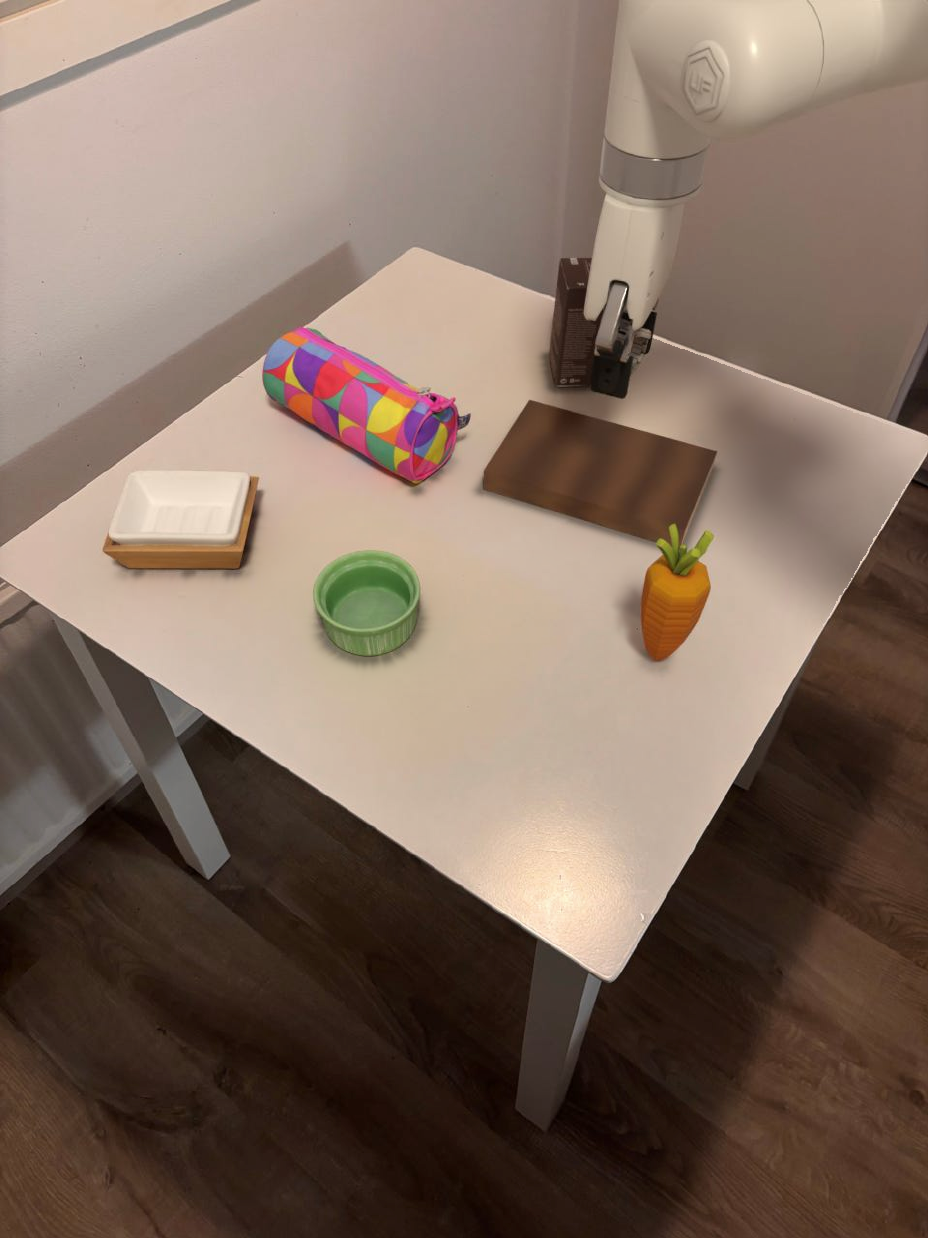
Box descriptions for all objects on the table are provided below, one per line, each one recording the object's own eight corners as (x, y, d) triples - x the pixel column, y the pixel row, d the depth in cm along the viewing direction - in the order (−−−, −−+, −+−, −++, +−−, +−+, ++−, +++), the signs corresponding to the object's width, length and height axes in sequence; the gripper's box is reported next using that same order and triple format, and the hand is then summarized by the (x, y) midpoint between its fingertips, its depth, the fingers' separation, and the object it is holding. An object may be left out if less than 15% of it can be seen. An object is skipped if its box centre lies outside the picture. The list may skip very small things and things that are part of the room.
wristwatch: (653, 364, 80) (662, 314, 76) (619, 399, 77) (627, 349, 73) (618, 350, 82) (626, 301, 78) (584, 385, 78) (590, 335, 75)
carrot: (620, 671, 75) (648, 548, 63) (635, 628, 78) (665, 503, 66) (678, 690, 74) (717, 568, 62) (692, 645, 77) (732, 521, 65)
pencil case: (476, 451, 92) (477, 378, 85) (420, 503, 88) (416, 430, 81) (320, 375, 101) (309, 302, 93) (260, 418, 96) (244, 345, 89)
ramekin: (355, 569, 82) (350, 536, 79) (441, 605, 80) (439, 572, 76) (299, 637, 77) (291, 605, 74) (388, 678, 75) (384, 646, 71)
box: (594, 386, 99) (608, 286, 90) (554, 388, 99) (563, 288, 89) (587, 353, 103) (599, 255, 93) (547, 355, 103) (556, 256, 93)
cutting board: (712, 470, 90) (717, 450, 89) (679, 549, 84) (684, 530, 82) (527, 418, 96) (529, 399, 94) (483, 489, 89) (483, 470, 87)
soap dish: (114, 578, 82) (96, 540, 78) (139, 503, 88) (123, 464, 84) (251, 578, 82) (240, 540, 78) (266, 503, 88) (256, 464, 84)
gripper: (637, 107, 71) (610, 310, 85) (563, 206, 61) (546, 417, 75) (731, 123, 69) (687, 328, 83) (671, 228, 59) (632, 441, 73)
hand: (620, 369), depth 79 cm, fingers closed on wristwatch, 6 cm apart
